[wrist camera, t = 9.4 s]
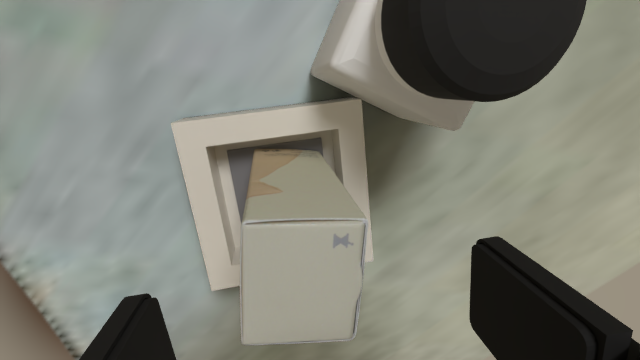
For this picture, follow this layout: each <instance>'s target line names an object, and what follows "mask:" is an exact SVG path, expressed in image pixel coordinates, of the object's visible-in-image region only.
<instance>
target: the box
mask: <svg viewBox="0 0 640 360" xmlns="http://www.w3.org/2000/svg"><path fill="white" fill-rule="evenodd" d="M367 232H368V220H367V218H366V216H365V215H364V214H363V212H362V211H361V210H360V208H359V207H358V205H357V204H356V202H355V201H354V200H353V198H352V197H351V195H350V194H349V193H348V191H347V190H346V188H345V187H344V186H343V184H342V183H341V181H340V180H339V179H338V177H337V176H336V174H335V173H334V172H333V170H332V169H331V167H330V166H329V165H328V163H327V162H326V160H325V159H324V158H323V156H322V155H321V153H320V152H319V151H312V150H297V149H255V150H254V154H253V160H252V166H251V172H250V178H249V184H248V191H247V197H246V202H245V208H244V213H243V219H242V223H241V238H240V324H241V343H242V344H243V345H271V344H298V343H318V342H336V341H351V340H352V339H354V337H355V336H356V333H357V325H358V318H359V311H360V302H361V293H362V284H363V275H364V265H365V254H366V244H367Z"/></svg>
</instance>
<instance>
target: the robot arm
mask: <svg viewBox="0 0 640 360" xmlns="http://www.w3.org/2000/svg"><path fill="white" fill-rule="evenodd" d="M470 323H471V326H472V328H473V330H474V331H475V332H476V334H477V335H478V336H479V338H480V339H481V340H482V341H483V343H484V344H485V345H486V347H487V348H488V349H489V350H490V352H491V353H492V354H493V355H494V357H495V358H496V359H497V360H640V344H639V343H637V342H636V341H635V340H633V339H632V338H631V337H632V332H633V330H631V329H630V328H629V327H627V326H626V325H624V324H623V323H622V322H620V321H619V320H617V319H616V318H615V317H613V316H612V315H610V314H609V313H607V312H606V311H605V310H603V309H602V308H600V307H599V306H597V305H596V304H594V303H593V302H592V301H590V300H589V299H587V298H586V297H585V296H583V295H582V294H580V293H579V292H578V291H576V290H575V289H573V288H572V287H570V286H569V285H568V284H566V283H565V282H563V281H562V280H560V279H559V278H558V277H556V276H555V275H553V274H552V273H550V272H549V271H548V270H546V269H545V268H543V267H542V266H541V265H539V264H538V263H536V262H535V261H533V260H532V259H531V258H529V257H528V256H526V255H525V254H523V253H522V252H521V251H519V250H518V249H516V248H515V247H513V246H512V245H511V244H509V243H508V242H506V241H505V240H503V239H502V238H500V237H490V238H484V239H479V240H478V241H477V243H476V245H474V246H473V247H472V255H471V287H470ZM79 360H176V357H175V354H174V351H173V348H172V344H171V341H170V338H169V335H168V331H167V328H166V325H165V322H164V318H163V315H162V312H161V309H160V305H159V302H158V300H157V299H156V298H151V296H150V295H149V294H141V295H134V296H128V297H125V298H124V299H123V300H122V301H121V303H120V304H119V305H118V307H117V308H116V309H115V311H114V312H113V314H112V315H111V316H110V318H109V319H108V321H107V322H106V323H105V325H104V326H103V327H102V329H101V330H100V332H99V333H98V334H97V336H96V337H95V339H94V340H93V341H92V343H91V344H90V345H89V347H88V348H87V350H86V351H85V352H84V354H83V355H82V357H81V358H80V359H79Z"/></svg>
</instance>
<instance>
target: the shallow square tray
mask: <svg viewBox="0 0 640 360" xmlns="http://www.w3.org/2000/svg"><path fill="white" fill-rule="evenodd" d="M171 126H172V130H173V134H174V138H175V142H176V146H177V150H178V154H179V159H180V163H181V167H182V171H183V175H184V179H185V183H186V187H187V191H188V195H189V200H190V204H191V208H192V212H193V216H194V220H195V224H196V228H197V232H198V236H199V241H200V245H201V249H202V253H203V257H204V261H205V265H206V269H207V273H208V277H209V282H210V286H211V290H212V291H215V290H220V289H225V288H231V287H236V286H240V238H241V223H242V219H243V213H244V208H245V202H246V197H247V191H248V184H249V178H250V172H251V166H252V160H253V154H254V150H255V149H297V150H312V151H319V152H320V153H321V155H322V156H323V158H324V159H325V160H326V162H327V163H328V165H329V166H330V167H331V169H332V170H333V172H334V173H335V174H336V176H337V177H338V179H339V180H340V181H341V183H342V184H343V186H344V187H345V188H346V190H347V191H348V193H349V194H350V195H351V197H352V198H353V200H354V201H355V202H356V204H357V205H358V207H359V208H360V210H361V211H362V212H363V214H364V215H365V216H366V218H367V220H368V232H367V244H366V254H365V262H371V261H373V249H372V236H371V222H370V208H369V195H368V181H367V167H366V153H365V140H364V126H363V112H362V99H357V98H350V97H348V98H340V99H332V100H324V101H316V102H308V103H300V104H292V105H284V106H276V107H268V108H260V109H252V110H244V111H236V112H228V113H220V114H212V115H204V116H196V117H188V118H183V119H180V120H178V121H175V122H173V123H171Z"/></svg>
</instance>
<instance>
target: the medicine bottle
mask: <svg viewBox="0 0 640 360" xmlns="http://www.w3.org/2000/svg"><path fill="white" fill-rule="evenodd" d="M586 1H587V0H340V1H339V3H338V5H337V8H336V10H335V13H334V15H333V17H332V20H331V22H330V24H329V27H328V29H327V32H326V34H325V36H324V39H323V41H322V43H321V46H320V48H319V51H318V53H317V55H316V58H315V60H314V62H313V65H312V67H311V74H312V75H313V76H314V77H316V78H318V79H320V80H322V81H324V82H326V83H328V84H330V85H332V86H334V87H336V88H339V89H341V90H343V91H345V92H347V93H349V94H351V95H353V96H355V97H357V98H359V99H362V100H363V101H365V102H367V103H370V104H372V105H374V106H376V107H378V108H380V109H382V110H384V111H386V112H388V113H390V114H392V115H394V116H396V117H399V118H401V119H406V120H410V121H414V122H418V123H422V124H426V125H431V126H435V127H439V128H443V129H447V130H452V131H455V130H458V129H459V128H460V127H461V126H462V124H463V122H464V120H465V118H466V116H467V115H468V113H469V111H470V109H471V107H472V105H473V103H474V101H479V102H491V101H499V100H504V99H507V98H510V97H513V96H516V95H518V94H520V93H522V92H524V91H526V90H528V89H529V88H531V87H532V86H534V85H535V84H537V83H538V82H539V81H540V80H542V79H543V78H544V77H545V76H546V75H547V74H548V73H549V72H550V71H551V70H552V69H553V68H554V67H555V66H556V64H557V63H558V62H559V60H560V59H561V58H562V56H563V55H564V53H565V52H566V51H567V49H568V48H569V46H570V44H571V42H572V41H573V39H574V37H575V35H576V33H577V30H578V28H579V26H580V23H581V20H582V17H583V14H584V10H585V5H586Z"/></svg>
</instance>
